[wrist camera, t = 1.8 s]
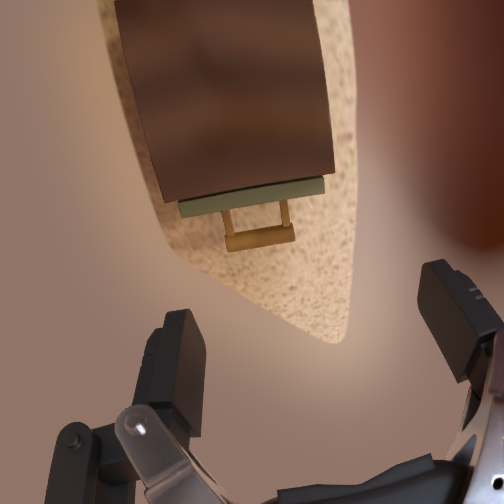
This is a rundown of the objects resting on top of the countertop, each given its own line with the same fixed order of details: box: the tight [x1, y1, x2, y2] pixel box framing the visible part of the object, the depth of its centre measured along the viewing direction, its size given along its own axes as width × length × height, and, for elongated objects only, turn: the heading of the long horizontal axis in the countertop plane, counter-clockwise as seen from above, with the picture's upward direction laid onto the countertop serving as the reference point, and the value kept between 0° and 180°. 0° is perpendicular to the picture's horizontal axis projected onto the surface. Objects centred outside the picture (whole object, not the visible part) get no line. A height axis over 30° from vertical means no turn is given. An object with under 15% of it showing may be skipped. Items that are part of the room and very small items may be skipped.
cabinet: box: [114, 0, 335, 203], centre depth 20 cm, size 14×11×9 cm
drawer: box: [177, 175, 325, 252], centre depth 23 cm, size 18×10×7 cm, turn 10°
